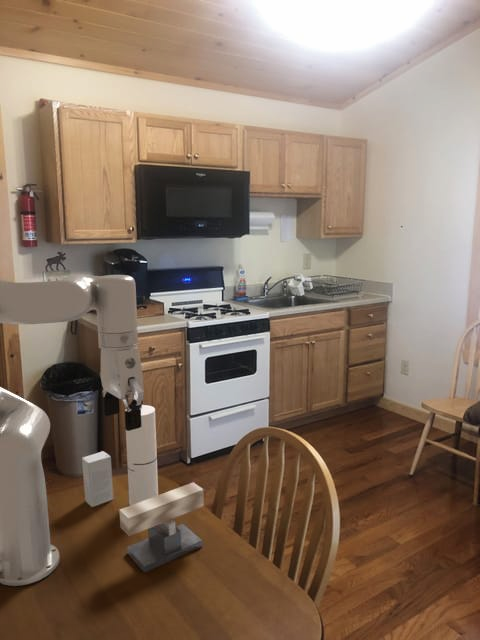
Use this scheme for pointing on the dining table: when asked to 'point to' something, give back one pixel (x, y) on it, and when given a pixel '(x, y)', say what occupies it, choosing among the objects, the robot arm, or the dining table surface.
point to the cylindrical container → (142, 458)
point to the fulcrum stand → (163, 545)
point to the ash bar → (161, 508)
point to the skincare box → (97, 478)
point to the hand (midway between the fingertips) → (122, 421)
